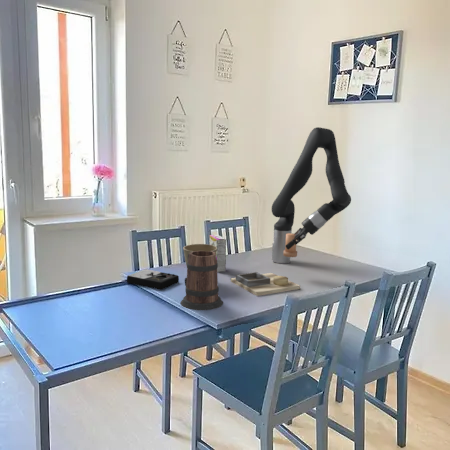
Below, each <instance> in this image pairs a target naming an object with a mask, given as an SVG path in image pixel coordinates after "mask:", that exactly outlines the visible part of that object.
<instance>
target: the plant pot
mask: <svg viewBox="0 0 450 450" xmlns="http://www.w3.org/2000/svg"><path fill="white" fill-rule="evenodd" d="M182 249H183V256H184V262H185V266H186V267H187V262H188V254H189V253H191V252H193V251H213V252H215V253H216V252H217V247H216V246H213V245H209V244H207V243H194V244H193V243H192V244H188V245H184V246H183V248H182Z"/></svg>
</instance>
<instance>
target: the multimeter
mask: <svg viewBox="0 0 450 450" xmlns="http://www.w3.org/2000/svg"><path fill="white" fill-rule="evenodd" d="M179 277H180V276H179V275H177V274H175V273H170V272H169V273H167V272H162V271H156V270H152V269H148V268H147V269H143V270H139V271H137V272H135V273H134V272H133V273H132V274H128V275H127V276H126V283H127V284H131V285H136V286H141V287H145V288H150V289H153V290H159V291H162V290H165V289H167V288H169V287H172V286H174V285H176V284H179V282H180V278H179Z"/></svg>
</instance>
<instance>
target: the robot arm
mask: <svg viewBox="0 0 450 450" xmlns="http://www.w3.org/2000/svg"><path fill="white" fill-rule="evenodd" d="M319 148H320V149H323V150H324V152H325V155H326V163H325V174H326V179H327V181H328V184H329V186H330V193H331V197H332V200H331V201H330V202H327V203H326V202H325V203H323V204H322V205H321V206H320V207H318V208H317V210H315V211H313V212H312V213H311V214H310V215H309V216H307V217H306V218H305V219H304V220H303V221H302V222H301V225H302V226H303V227H299V229H297V231H295V232H294V233H292V230H293V225H294V222H295V221H294V220H295V213H296V212H295V211H296V210H295V209H296V208H295V204H294V201H293V200H292V199H293V198H294V196H295V195H297V194H298V193H299V192H300V191H301V190H302V189H303V188H304V187H305V186H306V184H307V183H308V181H309V180H310V178H311V175H312V173H313V159H314V156H315V153H317V150H319ZM301 151H302V152H301V153H300V155H299V157H298V159H297V161H296V163H295V164H294V166H293V168H292V170H291V172H290V174H289V176H288V178H287V180H286V182H285V183H284V185H283V187H282V189H281V190H280V192H279V194H278V195H277V196H276V198H275V199H274V201H273V202H272V205H271V213H272V215H273V217H276V218H279V219H278V220H277V222H275V223H274V225H273V242H272V247H271V248H272V252H271V253H272V254H271V260H272V262H274V263H277V264H289V263H291V257H286V256H284V255H283V252H284V250H285V243H286V234H288V233H292V234H296V235H295V236H294V238H293V239H292V240H291V241H290V242H289V243H288V244H287V245H286V248H287V249H290V248H291V247H292V246H293V245H295V244H296V245H299V243H300V242H302V241H303V240H304V239H306V237H307V235H308V233H309V234H310V235H315V234H316V232H318V231H319V230H320V229H321V228H322V227H324V226H325V224H326V223H328V222H329V221H330V220H331V219H332V218H333V217H334V216H336V215H338V214H339V213H341V212H342V211H344V210H345V209H346V208H348V207H349V206H350V205H351V202H352V197H351V195H350V193H349V192H348V190H347V186H346V184H345V177H344V175H343V171H342V168H341V165H340V162H339V155H338V149H337V141H336V135H335V133H334V131H332V129H330V128H326V127H314V128H313V129H312V130H311V131H310V133H309V134H308V136H307V139H306V142H305V145H304V147H303V148H302V150H301ZM296 240H297V241H296Z"/></svg>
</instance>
